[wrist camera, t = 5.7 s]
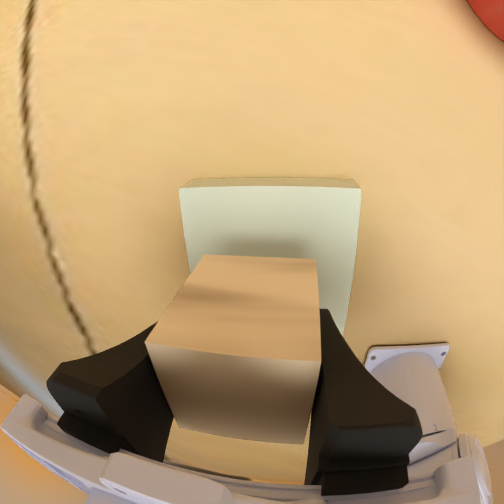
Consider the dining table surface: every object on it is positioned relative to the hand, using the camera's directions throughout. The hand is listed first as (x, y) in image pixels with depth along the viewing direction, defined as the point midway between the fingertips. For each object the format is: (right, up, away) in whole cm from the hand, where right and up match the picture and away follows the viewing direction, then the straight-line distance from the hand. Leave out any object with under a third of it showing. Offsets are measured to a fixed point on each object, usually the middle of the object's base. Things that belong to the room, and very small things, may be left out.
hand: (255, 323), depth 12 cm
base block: (+1, +3, +7) cm, 8 cm away
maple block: (0, +1, +1) cm, 1 cm away
